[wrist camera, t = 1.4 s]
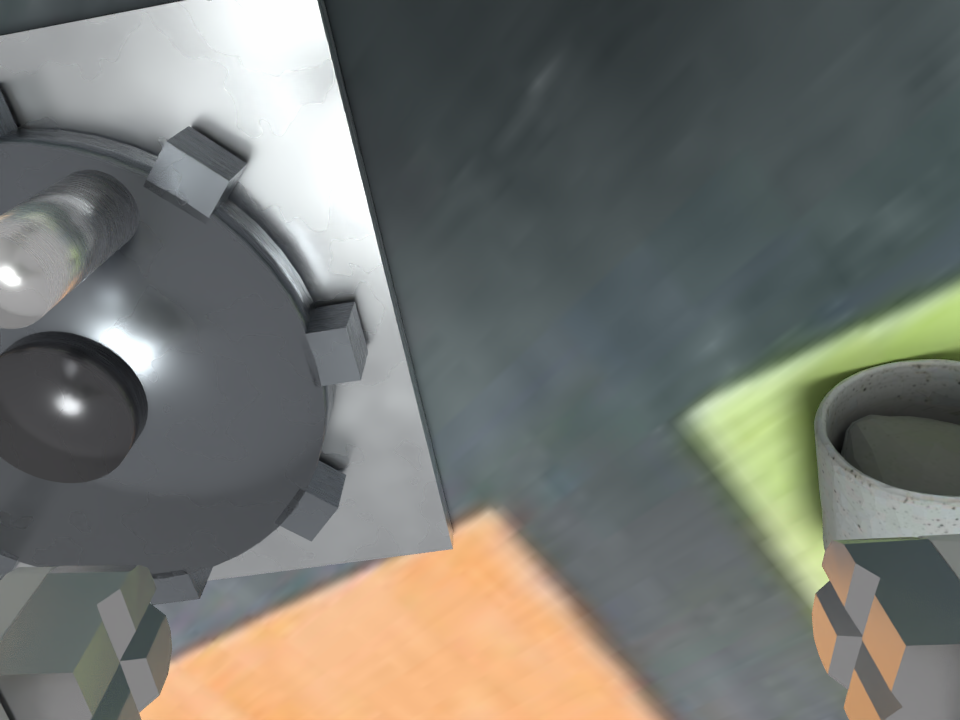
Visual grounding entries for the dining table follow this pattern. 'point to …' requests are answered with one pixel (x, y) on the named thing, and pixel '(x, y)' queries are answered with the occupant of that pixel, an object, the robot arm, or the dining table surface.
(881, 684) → the robot arm
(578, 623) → the dining table surface
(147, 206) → the sprocket
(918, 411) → the ceramic mug
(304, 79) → the base plate
